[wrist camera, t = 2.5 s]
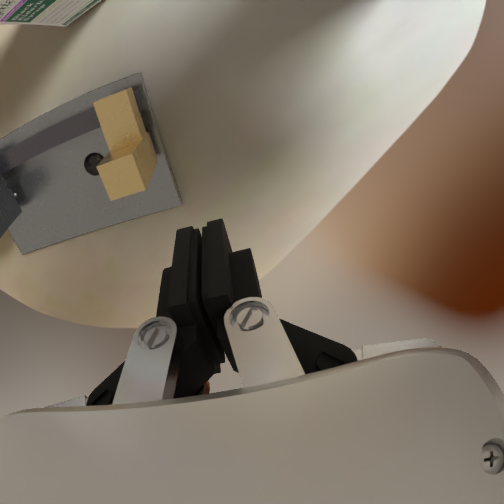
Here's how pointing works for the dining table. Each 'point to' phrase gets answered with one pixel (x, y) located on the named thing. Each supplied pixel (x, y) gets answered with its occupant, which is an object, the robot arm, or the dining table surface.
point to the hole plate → (73, 173)
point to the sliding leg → (124, 145)
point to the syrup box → (43, 11)
